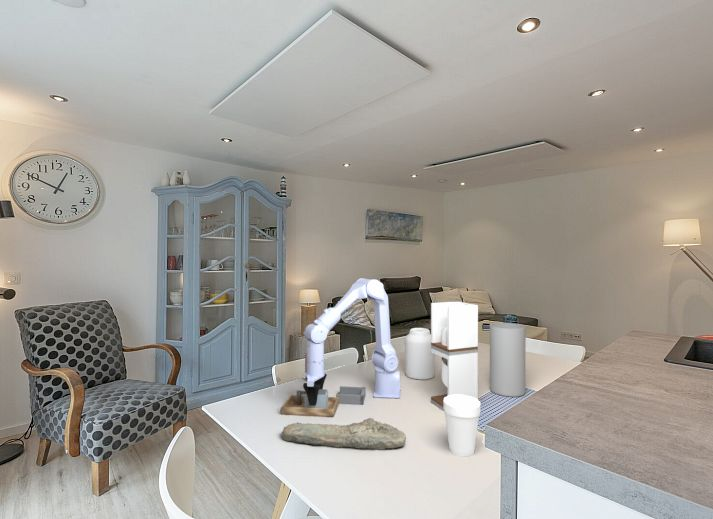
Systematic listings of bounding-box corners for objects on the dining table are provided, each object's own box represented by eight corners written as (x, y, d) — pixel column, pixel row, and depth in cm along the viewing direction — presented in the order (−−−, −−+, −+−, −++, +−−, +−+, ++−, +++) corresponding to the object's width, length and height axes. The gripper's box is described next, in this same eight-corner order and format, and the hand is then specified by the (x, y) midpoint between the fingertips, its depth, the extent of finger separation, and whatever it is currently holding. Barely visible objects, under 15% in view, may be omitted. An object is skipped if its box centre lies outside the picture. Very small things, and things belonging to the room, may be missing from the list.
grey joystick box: (328, 406, 124) (328, 389, 124) (325, 411, 120) (325, 394, 120) (298, 404, 126) (298, 388, 126) (294, 410, 121) (294, 392, 121)
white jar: (432, 371, 163) (432, 326, 163) (436, 380, 151) (436, 332, 150) (404, 370, 164) (404, 326, 164) (405, 379, 152) (405, 331, 152)
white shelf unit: (458, 397, 133) (458, 301, 132) (477, 409, 123) (477, 305, 122) (431, 402, 128) (431, 303, 128) (449, 414, 119) (449, 306, 118)
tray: (338, 404, 127) (338, 397, 127) (333, 417, 117) (333, 409, 117) (290, 402, 129) (290, 395, 129) (281, 414, 119) (281, 407, 119)
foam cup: (439, 441, 101) (439, 395, 101) (471, 440, 102) (471, 393, 102) (450, 460, 92) (450, 409, 92) (486, 459, 93) (486, 408, 93)
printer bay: (365, 395, 135) (365, 387, 135) (363, 404, 127) (363, 396, 127) (340, 394, 136) (340, 386, 136) (336, 403, 128) (336, 394, 128)
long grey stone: (289, 432, 110) (277, 452, 100) (287, 415, 110) (276, 433, 100) (406, 434, 105) (406, 454, 95) (405, 416, 105) (405, 435, 95)
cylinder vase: (529, 399, 131) (529, 329, 131) (492, 396, 134) (492, 328, 134) (520, 386, 144) (521, 323, 143) (487, 384, 146) (487, 322, 146)
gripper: (309, 354, 130) (309, 392, 130) (297, 366, 116) (297, 408, 116) (328, 354, 129) (328, 392, 130) (319, 367, 115) (319, 410, 115)
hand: (315, 400), depth 123 cm, fingers open, 7 cm apart
